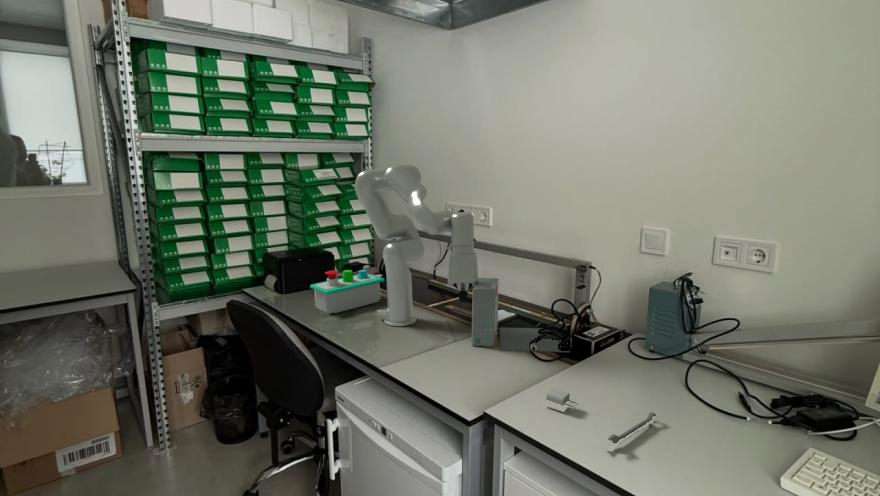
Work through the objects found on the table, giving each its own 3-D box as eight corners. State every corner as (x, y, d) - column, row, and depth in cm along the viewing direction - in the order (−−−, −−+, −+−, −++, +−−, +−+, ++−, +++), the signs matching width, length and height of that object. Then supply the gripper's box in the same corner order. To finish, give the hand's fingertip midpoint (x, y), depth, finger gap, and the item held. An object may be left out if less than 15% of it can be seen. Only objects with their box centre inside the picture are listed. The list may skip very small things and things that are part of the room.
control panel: (386, 264, 203) (325, 277, 183) (387, 301, 206) (327, 317, 186) (366, 259, 214) (306, 271, 194) (368, 294, 217) (309, 309, 197)
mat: (500, 350, 152) (500, 349, 152) (499, 328, 172) (499, 327, 172) (569, 352, 150) (569, 351, 150) (560, 329, 169) (560, 328, 169)
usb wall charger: (553, 401, 120) (553, 387, 120) (579, 410, 116) (579, 395, 115) (546, 408, 117) (546, 393, 117) (572, 417, 113) (573, 402, 112)
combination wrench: (652, 408, 111) (603, 437, 99) (658, 410, 110) (608, 439, 98) (651, 422, 112) (602, 453, 100) (656, 425, 110) (607, 456, 99)
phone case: (490, 328, 173) (518, 317, 183) (490, 324, 173) (518, 314, 183) (473, 322, 180) (501, 312, 190) (473, 318, 179) (501, 308, 190)
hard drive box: (494, 347, 154) (495, 289, 150) (471, 346, 156) (471, 288, 152) (498, 330, 169) (498, 277, 165) (477, 329, 171) (477, 276, 167)
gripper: (439, 251, 154) (440, 304, 158) (484, 251, 153) (484, 305, 156) (441, 247, 162) (443, 297, 165) (485, 247, 160) (485, 298, 163)
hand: (463, 301), depth 161 cm, fingers closed
